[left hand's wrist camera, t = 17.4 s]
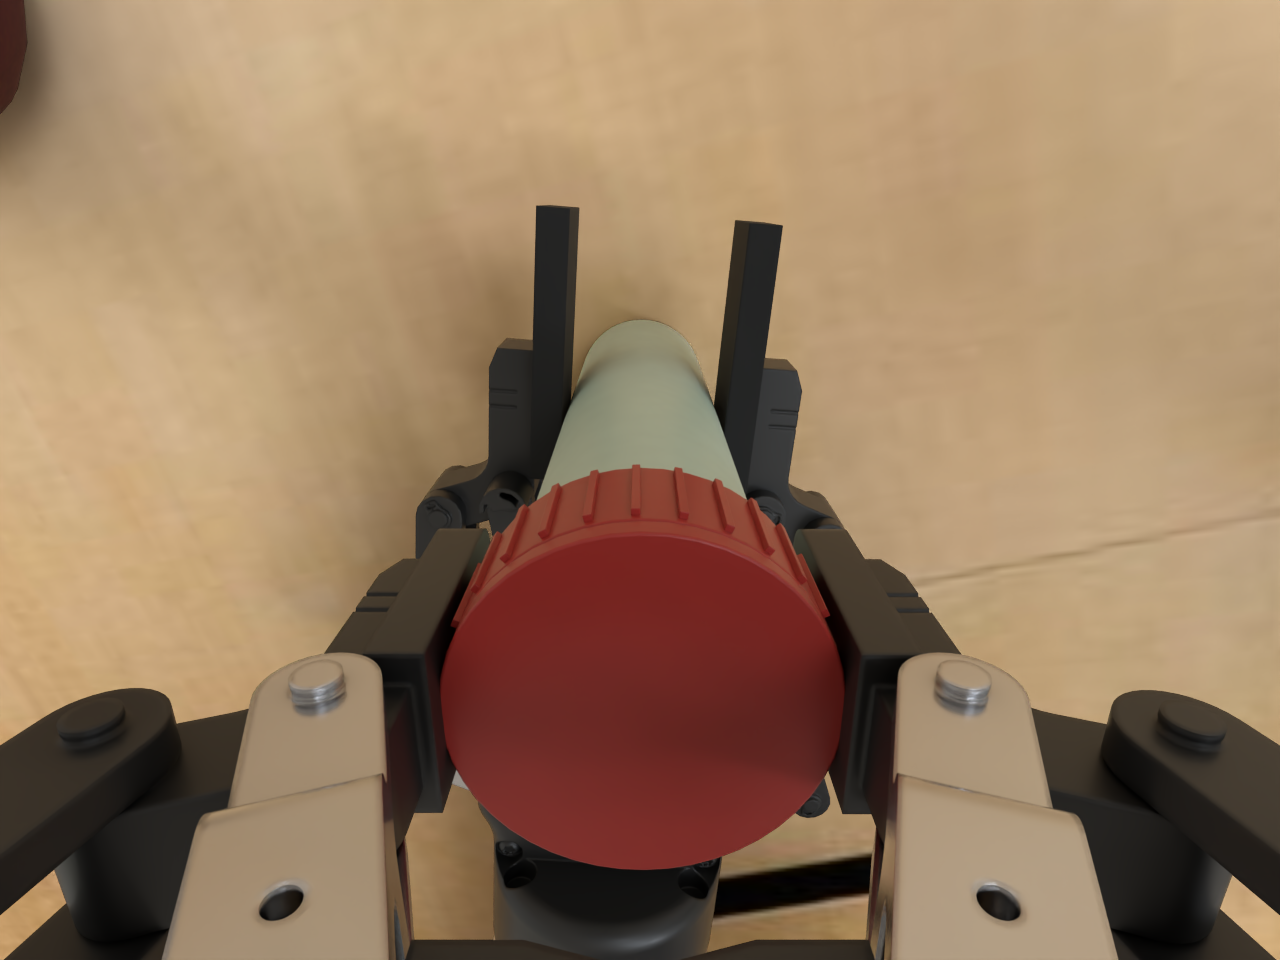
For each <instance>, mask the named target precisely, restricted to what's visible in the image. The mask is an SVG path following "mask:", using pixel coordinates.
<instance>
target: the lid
mask: <svg viewBox="0 0 1280 960" xmlns="http://www.w3.org/2000/svg"><path fill="white" fill-rule="evenodd" d="M828 616H830V614H829V612H828V610H827V607H826V605H825V603H824V601H823V599H822V596H821V594H820V592H819V590H818V588H817V585H816V583H815V581H814V579H813V577H812V574H811V572H810V570H809V568H808V566H807V563H806V561H805V559H804V557H803V555H802V554H799V555H796V553H795V550H794V548H793V546H792V543H791V541H790V539H789V537H788V534H787V532H786V530H785V528H784V526H783V525H782V524H781V523H779V524H778V525H777V526H776V525H775V524H774V523H773V522H772V521H771V520H770V519H769V518H768V517H767V515H765V514H764V513H763V512H762V511H761V510H760V509H759V506H758V503H757V501H756V500H754V499H753V498H750V499H749V500H747V499H745V498H743V497H742V496H740V495H738V494H737V493H735V492H734V491H732V490H730V489H728V488H726V487H724V486H723V483H722V481H721V480H718V479H716V478H715V479H714V481H711V480H708V479H705V478H701V477H698V476H695V475H692V474H688V473H684V472H683V470H682V468H678V467H675V468H674V471H672V470H667V469H654V468H640V464H636V465H632V468H631V469H617V470H611V471H606V472H602V473H599V471H598V470H593V471H590V475H589V476H586V477H583V478H580V479H577V480H574V481H571V482H569V483H567V484H565V485H563V486H560V484H559V483H557V484H555V485H553V486H552V488H551V491H550V492H549V493H547V494H546V495H544V496H543V497H541V498H540V499H538V500H537V501H535V502H534V503H532V504H531V505H530V506H529V507H527V506H526V505H525V504H524V505H522V506H521V507H520V508H519V510H518V512H517V515H516V517H515V519H514V520H513V521H512V522H511V523H510V525H509V526H508V527H507V528H506V529H505V530H504V532H503V533H502V534H501V533H499V532H498V531H497V532H496V533H495V535H494V536H493V538H492V540H491V543H490V545H489V547H488V550H487V552H486V554H485V556H484V559H483V561H482V563H478V564H477V567H476V569H475V571H474V573H473V576H472V578H471V580H470V582H469V585H468V587H467V589H466V591H465V594H464V596H463V598H462V600H461V602H460V605H459V607H458V609H457V611H456V614H455V616H454V618H453V621H452V623H451V627H454V628H457V629H456V631H455V634H454V636H453V638H452V641H451V643H450V645H449V648H448V650H447V653H446V656H445V660H444V664H443V667H442V671H441V676H440V696H441V706H442V715H443V723H444V732H445V740H446V747H447V750H448V752H449V755H450V758H451V760H452V763H453V764H454V766H455V768H456V770H457V772H458V773H459V775H460V777H461V779H462V781H463V782H464V783H465V785H466V786H467V787H468V789H469V790H470V791H471V793H472V794H473V795H474V797H475V798H476V799H477V800H478V801H479V802H480V803H481V804H482V805H483V807H484V808H485V809H486V810H487V811H488V812H489V813H490V814H491V815H492V816H494V817H495V818H496V819H497V820H499V821H500V822H501V823H502V824H504V825H505V826H506V827H507V828H509V829H510V830H511V831H513V832H515V833H516V834H518V835H519V836H521V837H523V838H524V839H526V840H527V841H529V842H531V843H533V844H535V845H537V846H539V847H541V848H544V849H546V850H548V851H550V852H552V853H555V854H558V855H561V856H563V857H566V858H569V859H572V860H575V861H579V862H584V863H588V864H592V865H596V866H603V867H610V868H617V869H633V870H652V869H669V868H675V867H682V866H688V865H694V864H697V863H701V862H705V861H709V860H713V859H716V858H719V857H722V856H724V855H727V854H729V853H732V852H735V851H737V850H740V849H742V848H744V847H746V846H747V845H749V844H751V843H753V842H755V841H757V840H759V839H761V838H762V837H764V836H765V835H767V834H768V833H770V832H772V831H773V830H775V829H776V828H778V827H779V826H780V825H781V824H783V823H784V822H785V821H786V820H787V819H789V818H790V817H791V816H792V815H793V814H795V813H796V812H797V811H798V810H799V809H800V807H801V806H802V805H803V804H804V803H805V802H806V801H807V800H808V799H809V798H810V797H811V796H812V794H813V793H814V791H815V790H816V789H817V787H818V786H819V784H820V783H821V782H822V780H823V779H824V777H825V775H826V773H827V771H828V770H829V768H830V766H831V764H832V762H833V760H834V758H835V755H836V752H837V749H838V745H839V739H840V731H841V722H842V713H843V705H844V695H845V677H844V670H843V666H842V663H841V660H840V657H839V653H838V650H837V645H836V643H835V641H834V638H833V636H832V634H831V632H830V629H829V627H828V625H827V622H826V620H825V618H826V617H828Z"/></svg>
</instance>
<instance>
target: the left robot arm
mask: <svg viewBox="0 0 1280 960" xmlns="http://www.w3.org/2000/svg"><path fill="white" fill-rule="evenodd" d="M489 545H490V537H489V533H488V531H487V529H438V530H437V531H436V533H435V535H434V536H433V538H432V539H431V541H430V543H429V544H428V546H427V548H426V549H425V551H424V552H423V554H422V556H421V557H420V559H403V560H401V561H399V562H398V563H396V564H395V565H393V566H392V567H390V568H389V569H387V570H386V571H384V572H382V573H381V574H379V576H378V577H377V579H376V580H375V581H374V583H373V584H372V586H371V587H370V589H369V590H368V591H367V596H364V597H363V599H362V600H361V601H360V603H359V604H358V606H357V607H356V612H353V613H352V614H351V616H350V617H349V619H348V620H347V622H346V623H345V624H344V626H343V627H342V629H341V630H340V632H339V633H338V634H337V636H336V637H335V639H334V640H333V642H332V643H331V644H330V646H329V647H328V649H327V650H326V652H325V653H324V654H320V655H316V656H311V657H307V658H304V659H301V660H298V661H296V662H293V663H291V664H288V665H286V666H284V667H282V668H280V669H279V670H277V671H275V672H274V673H272V674H271V675H270V676H268V677H267V678H266V679H265V680H263V681H262V682H261V683H260V685H259V686H258V687H257V688H256V690H255V691H254V693H253V695H252V698H251V701H250V705H249V709H246V710H242V711H238V712H234V713H229V714H224V715H219V716H214V717H208V718H203V719H198V720H193V721H188V722H183V723H178V724H176V720H175V717H174V713H173V709H172V705H171V703H170V700H169V698H168V697H167V696H166V695H164V694H162V693H161V692H159V691H155V690H151V689H144V688H129V689H119V690H113V691H108V692H104V693H100V694H96V695H92V696H89V697H86V698H83V699H81V700H78V701H76V702H73V703H71V704H68V705H66V706H64V707H62V708H60V709H58V710H56V711H54V712H52V713H51V714H49V715H47V716H46V717H44V718H42V719H41V720H39V721H38V722H36V723H34V724H33V725H31V726H30V727H28V728H27V729H25V730H24V731H22V732H21V733H19V734H17V735H16V736H14V737H13V738H11V739H10V740H8V741H7V742H5V743H3V744H2V745H0V915H1V914H2V913H3V912H5V911H6V910H7V909H8V908H9V907H10V906H12V905H13V904H14V903H15V902H16V901H18V900H19V899H20V898H21V897H22V896H23V895H25V894H26V893H27V892H28V891H29V890H31V889H32V888H33V887H34V886H35V885H36V884H38V883H39V882H40V881H41V880H42V879H44V878H45V877H46V876H47V875H48V874H49V873H51V872H52V871H53V870H55V873H56V876H57V878H58V881H59V884H60V887H61V889H62V892H63V895H64V898H65V900H66V904H65V905H64V906H63V907H62V908H61V909H59V910H58V911H57V912H56V913H55V914H54V915H53V916H52V917H51V918H50V919H48V920H47V921H46V922H45V923H44V924H43V925H42V926H41V927H40V928H38V929H37V930H36V931H35V932H34V933H33V934H32V935H31V936H30V937H28V938H27V939H26V940H25V941H24V942H23V943H22V944H21V945H20V946H19V947H17V948H16V949H15V950H14V951H13V952H12V953H11V954H10V955H9V956H7V957H6V958H5V959H4V960H600V959H596V958H592V957H588V956H584V955H580V954H576V953H573V952H569V951H565V950H561V949H557V948H553V947H549V946H546V945H542V944H538V943H534V942H530V941H526V940H414V931H413V917H412V904H411V891H410V877H409V864H408V853H407V846H406V839H405V835H406V833H407V831H408V828H409V825H410V822H411V820H412V817H413V814H414V813H443V810H444V807H445V804H446V801H447V797H448V794H449V791H450V788H451V785H452V782H453V779H454V776H455V773H456V768H455V766H454V764H453V763H452V760H451V758H450V755H449V752H448V750H447V747H446V740H445V732H444V723H443V715H442V706H441V696H440V676H441V671H442V667H443V664H444V660H445V656H446V653H447V650H448V648H449V645H450V643H451V641H452V638H453V636H454V634H455V631H456V629H457V628H454V627H451V623H452V621H453V618H454V616H455V614H456V611H457V609H458V607H459V605H460V602H461V600H462V598H463V596H464V594H465V591H466V589H467V587H468V585H469V582H470V580H471V578H472V576H473V573H474V571H475V569H476V567H477V564H478V563H482V561H483V559H484V556H485V554H486V552H487V550H488V547H489ZM793 548H794V550H795V553H796V555H799V554H802V555H803V557H804V559H805V561H806V563H807V566H808V568H809V570H810V572H811V574H812V577H813V579H814V581H815V583H816V585H817V588H818V590H819V592H820V594H821V596H822V599H823V601H824V603H825V605H826V607H827V610H828V612H829V614H830V616H828V617H826V618H825V620H826V622H827V625H828V627H829V629H830V632H831V634H832V636H833V638H834V641H835V643H836V645H837V650H838V653H839V657H840V660H841V663H842V666H843V670H844V677H845V695H844V705H843V713H842V722H841V731H840V739H839V745H838V749H837V752H836V755H835V758H834V760H833V762H832V764H831V766H830V768H829V770H828V771H829V774H830V777H831V780H832V783H833V786H834V789H835V792H836V795H837V798H838V802H839V805H840V808H841V811H842V814H872V817H873V819H874V822H875V825H876V832H875V839H874V846H873V853H872V864H871V877H870V891H869V904H868V917H867V931H866V940H754V941H750V942H746V943H742V944H738V945H734V946H731V947H727V948H723V949H719V950H715V951H711V952H707V953H704V954H700V955H696V956H692V957H688V958H684V959H680V960H1276V959H1275V958H1274V957H1273V956H1271V955H1270V954H1269V953H1268V952H1267V951H1266V950H1265V949H1264V948H1263V947H1261V946H1260V945H1259V944H1258V943H1257V942H1256V941H1255V940H1254V939H1253V938H1252V937H1250V936H1249V935H1248V934H1247V933H1246V932H1245V931H1244V930H1243V929H1242V928H1240V927H1239V926H1238V925H1237V924H1236V923H1235V922H1234V921H1233V920H1232V919H1231V918H1229V917H1228V916H1227V915H1226V914H1225V913H1224V912H1223V911H1222V910H1221V909H1220V907H1221V904H1222V901H1223V899H1224V896H1225V893H1226V891H1227V888H1228V885H1229V883H1230V880H1231V877H1232V875H1233V876H1234V877H1235V878H1237V879H1238V880H1239V881H1240V882H1241V883H1242V884H1244V885H1245V886H1246V887H1247V888H1248V889H1250V890H1251V891H1252V892H1253V893H1254V894H1255V895H1257V896H1258V897H1259V898H1260V899H1261V900H1262V901H1264V902H1265V903H1266V904H1267V905H1268V906H1270V907H1271V908H1272V909H1273V910H1274V911H1275V912H1277V913H1278V914H1279V915H1280V745H1278V744H1277V743H1275V742H1273V741H1272V740H1270V739H1269V738H1267V737H1266V736H1264V735H1263V734H1261V733H1259V732H1258V731H1256V730H1255V729H1253V728H1252V727H1250V726H1249V725H1247V724H1246V723H1244V722H1242V721H1241V720H1239V719H1238V718H1236V717H1234V716H1232V715H1231V714H1229V713H1227V712H1225V711H1223V710H1221V709H1219V708H1217V707H1215V706H1212V705H1210V704H1207V703H1205V702H1202V701H1199V700H1196V699H1193V698H1191V697H1187V696H1183V695H1179V694H1175V693H1169V692H1164V691H1154V690H1139V691H1132V692H1128V693H1124V694H1122V695H1121V696H1119V697H1117V698H1116V699H1115V700H1114V702H1113V704H1112V707H1111V711H1110V715H1109V718H1108V722H1107V724H1102V723H1097V722H1092V721H1087V720H1082V719H1077V718H1072V717H1067V716H1062V715H1057V714H1052V713H1048V712H1044V711H1040V710H1037V709H1033V708H1031V705H1030V701H1029V698H1028V695H1027V693H1026V691H1025V690H1024V688H1023V687H1022V686H1021V685H1020V683H1019V682H1018V681H1017V680H1015V679H1014V678H1013V677H1012V676H1010V675H1009V674H1008V673H1006V672H1005V671H1003V670H1001V669H1000V668H998V667H996V666H994V665H992V664H989V663H987V662H984V661H982V660H979V659H976V658H973V657H969V656H964V655H961V653H960V652H959V650H958V649H957V648H956V646H955V645H954V643H953V642H952V641H951V639H950V638H949V636H948V635H947V634H946V632H945V631H944V629H943V628H942V626H941V625H940V624H939V622H938V621H937V619H936V618H935V617H934V615H933V614H932V613H929V608H928V607H927V605H926V604H925V603H924V601H923V600H922V598H921V597H918V593H917V591H916V590H915V588H914V587H913V586H912V584H911V583H910V581H909V580H908V579H907V577H906V576H905V575H904V574H903V573H901V572H899V571H898V570H896V569H895V568H893V567H892V566H890V565H888V564H887V563H885V562H884V561H882V560H881V559H864V557H863V556H862V554H861V552H860V551H859V549H858V548H857V546H856V544H855V543H854V541H853V540H852V538H851V536H850V535H849V533H848V532H847V530H845V529H798V530H797V531H796V534H795V537H794V543H793Z"/></svg>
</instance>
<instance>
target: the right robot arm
mask: <svg viewBox="0 0 1280 960" xmlns="http://www.w3.org/2000/svg"><path fill="white" fill-rule="evenodd" d="M578 226H579V208H578V207H565V206H553V205H543V206H536V238H535V278H534V317H533V340H524V339H511V338H507V339H506V340H505V341H504V342H503V343H502V344H501V345H500V346H499V347H498V348H497V350H496V352H495V355H494V357H493V359H492V362H491V364H490V366H489V457H488V460H486V461H484V462H482V463H479V464H476V465H472V466H468V467H464V466H461V465H459V466H452V467H450V468H448V469H446V470H445V471H444V472H443V473H442V475H441V476H440V477H439V478H438V480H437V481H436V482H435V484H434V485H433V487H432V488H431V489H430V491H429V492H428V493H427V495H426V496H425V498H424V499H423V501H422V502H421V503H420V505H419V506H418V508H417V512H416V559H420V557H421V556H422V554H423V552H424V551H425V549H426V548H427V546H428V544H429V543H430V541H431V539H432V538H433V536H434V535H435V533H436V531H437V530H438V529H479V523H480V522H483V521H487V520H489V522H490V526H491V531H492V535H493V536H494V535H495V533H496V532H497V531H498V532H499V533H501V534H502V533H503V532H504V530H505V529H506V528H507V527H508V526H509V525H510V523H511V522H512V521H513V520H514V519H515V517H516V515H517V512H518V510H519V508H520V507H521V506H522V505H524V504H525V505H526V506H527V507H529V506H530V505H531V504H532V503H534V502H535V501H537V498H538V495H539V492H540V489H541V486H542V483H543V480H544V478H545V475H546V472H547V469H548V466H549V463H550V460H551V457H552V454H553V451H554V449H555V446H556V443H557V440H558V437H559V434H560V431H561V428H562V425H563V422H564V420H565V417H566V414H567V411H568V408H569V405H570V402H571V384H572V362H573V339H574V317H575V294H576V271H577V249H578ZM782 228H783V226H782V225H776V224H770V223H764V222H751V221H739V220H735V227H734V236H733V245H732V253H731V262H730V271H729V280H728V288H727V297H726V306H725V314H724V323H723V332H722V341H721V349H720V358H719V367H718V376H717V384H716V393H715V402H714V408H715V411H716V414H717V416H718V419H719V422H720V425H721V428H722V431H723V433H724V436H725V439H726V442H727V445H728V448H729V450H730V453H731V456H732V459H733V462H734V465H735V467H736V470H737V473H738V476H739V479H740V482H741V484H742V487H743V490H744V493H745V496H746V499H747V500H749V499H750V498H753V499H754V500H756V501H757V503H758V506H759V509H760V510H761V511H762V512H763V513H764V514H765V515H767V517H768V518H769V519H770V520H771V521H772V522H773V523H774V524H775V525H776V526H777V525H778V524H779V523H781V524H782V525H783V526H784V528H785V530H786V532H787V534H788V537H789V539H790V541H791V543H792V546H793V543H794V537H795V534H796V531H797V530H798V529H844V527H843V525H842V523H841V522H840V520H839V519H838V517H837V515H836V514H835V512H834V511H833V509H832V507H831V506H830V505H829V503H828V502H827V500H826V498H825V497H824V496H822V495H821V494H820V493H818V492H813V491H807V492H805V491H803V490H801V489H798V488H796V487H794V486H792V485H790V484H789V483H788V477H789V471H790V464H791V458H792V452H793V445H794V439H795V432H796V426H797V420H798V412H799V407H800V400H801V394H802V389H801V385H800V381H799V377H798V373H797V370H796V369H795V368H794V367H793V366H792V365H791V364H790V363H789V362H788V361H787V360H784V359H771V358H765V353H766V346H767V338H768V331H769V324H770V316H771V309H772V302H773V294H774V287H775V280H776V272H777V265H778V258H779V250H780V243H781V236H782ZM452 784H453V785H456V786H459V787H461V788H464V789H467V790H469V789H468V787H467V786H466V785H465V783H464V782H463V781H462V779H461V777H460V775H459V773H458V772H457V770H456V773H455V776H454V779H453V782H452ZM469 791H470V790H469ZM478 805H479V808H480V810H481V813H482V814H483V816H484V817H485V819H486V820H487V821H488V823H489V825H490V826H491V829H492V831H493V835H494V910H493V927H494V938H493V940H526V941H530V942H534V943H538V944H542V945H546V946H549V947H553V948H557V949H561V950H565V951H569V952H573V953H576V954H580V955H584V956H588V957H592V958H596V959H600V960H680V959H684V958H688V957H692V956H696V955H700V954H704V953H707V948H708V944H709V940H710V933H711V927H712V920H713V914H714V907H715V900H716V894H717V887H718V880H719V874H720V867H721V860H722V857H719V858H716V859H713V860H709V861H705V862H701V863H697V864H694V865H688V866H682V867H675V868H669V869H652V870H633V869H617V868H610V867H603V866H596V865H592V864H588V863H584V862H579V861H575V860H572V859H569V858H566V857H563V856H561V855H558V854H555V853H552V852H550V851H548V850H546V849H544V848H541V847H539V846H537V845H535V844H533V843H531V842H529V841H527V840H526V839H524V838H523V837H521V836H519V835H518V834H516V833H515V832H513V831H511V830H510V829H509V828H507V827H506V826H505V825H504V824H502V823H501V822H500V821H499V820H497V819H496V818H495V817H494V816H492V815H491V814H490V813H489V812H488V811H487V810H486V809H485V808H484V807H483V805H482V804H481V803H480V802H479V801H478ZM829 805H830V797H829V793H828V790H827V786H826V783H825V779H823V780H822V782H821V783H820V784H819V786H818V787H817V789H816V790H815V791H814V793H813V794H812V796H811V797H810V798H809V799H808V800H807V801H806V802H805V803H804V804H803V805H802V806H801V807H800V809H799V810H798V811H797V812H796V814H798V815H799V816H802V817H806V818H811V817H817V816H819V815H821V814H823V813H824V812H825V811H826V810H827V809H828V807H829Z"/></svg>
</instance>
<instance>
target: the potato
mask: <svg viewBox="0 0 1280 960" xmlns="http://www.w3.org/2000/svg"><path fill="white" fill-rule="evenodd" d="M26 47H27V35H26V22H25V10H24V0H0V114H1V113H2V112H3V110H4V109H5V108H6V107H7V106H8V105H9V104H10V103H11V101H12V99H13V97H14V95H15V93H16V91H17V89H18V84H19V80H20V75H21V70H22V66H23V61H24V56H25V52H26Z"/></svg>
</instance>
